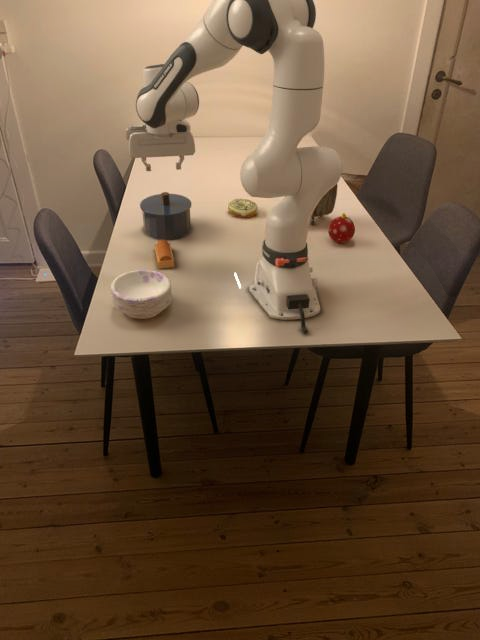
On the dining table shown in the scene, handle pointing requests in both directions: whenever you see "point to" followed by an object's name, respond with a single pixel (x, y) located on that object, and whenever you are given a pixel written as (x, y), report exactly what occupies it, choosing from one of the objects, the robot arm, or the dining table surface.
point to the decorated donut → (242, 208)
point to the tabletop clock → (325, 204)
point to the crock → (167, 225)
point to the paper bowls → (141, 293)
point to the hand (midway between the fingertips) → (163, 169)
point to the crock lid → (165, 204)
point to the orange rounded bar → (164, 254)
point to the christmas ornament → (341, 229)
